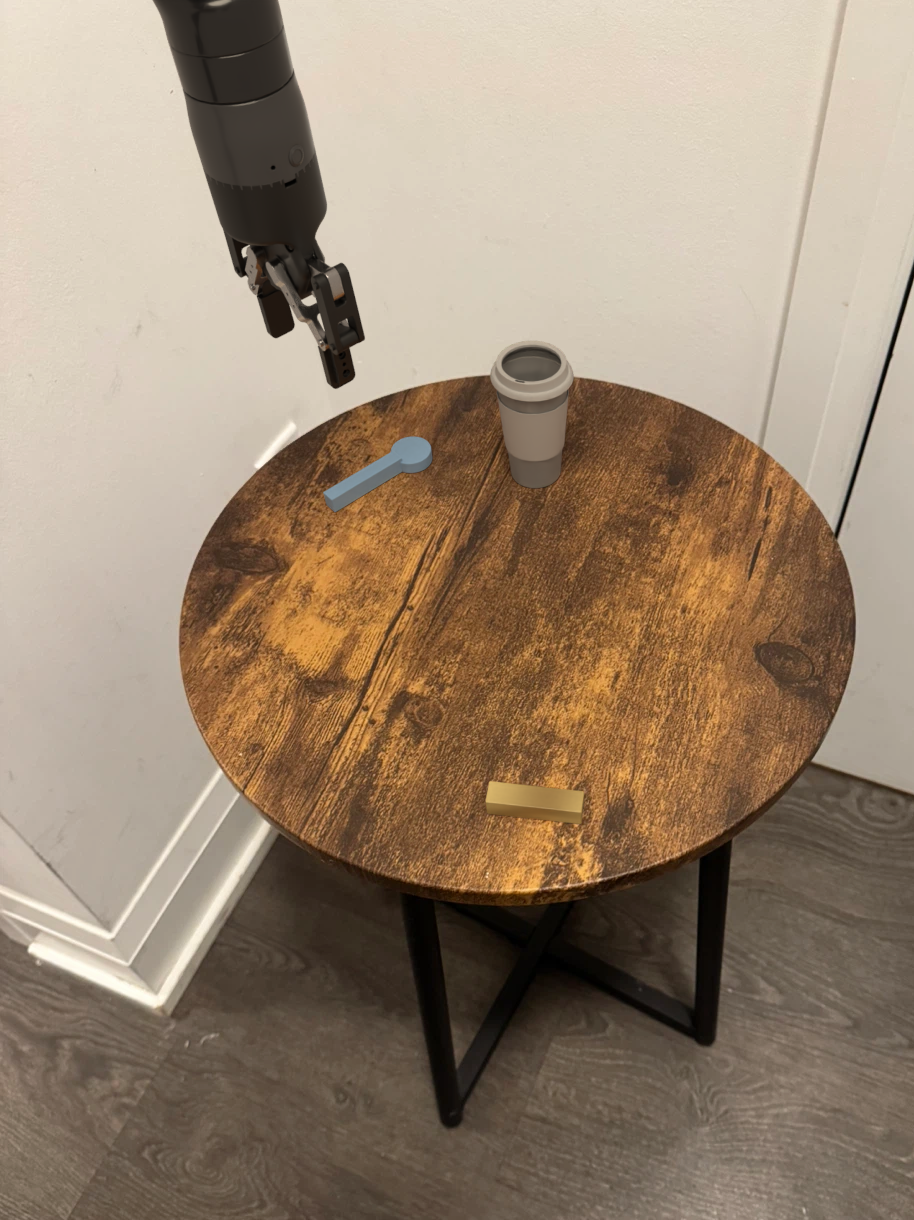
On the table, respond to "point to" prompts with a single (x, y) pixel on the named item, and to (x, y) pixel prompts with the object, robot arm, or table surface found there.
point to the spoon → (381, 471)
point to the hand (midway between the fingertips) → (311, 357)
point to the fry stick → (535, 802)
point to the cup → (533, 409)
